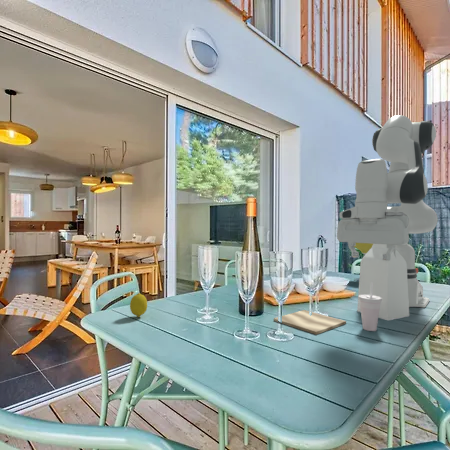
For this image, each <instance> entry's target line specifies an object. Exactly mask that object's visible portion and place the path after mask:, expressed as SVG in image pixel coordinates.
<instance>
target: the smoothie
mask: <svg viewBox="0 0 450 450" xmlns="http://www.w3.org/2000/svg"><path fill="white" fill-rule="evenodd" d="M358 299H359V300H360V308H361V312H360V314H361V316H360V317H361V324H362V329H363V330H365V331H368V332H377V329H378V323H379V318H378V316H379V310H380V303H381V302H382V298H381V297H379V296H375V295H372V283H370V295H359V298H358V297H357V300H358Z"/></svg>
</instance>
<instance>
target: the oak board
mask: <svg viewBox="0 0 450 450" xmlns="http://www.w3.org/2000/svg"><path fill="white" fill-rule="evenodd" d="M309 311H310V310H305V309H303V310H299V311H295V312H293V313H292V312H291V313H288V314H285V315H281V316H282V323H281V324H283V325H286V326H288V327H292V328H295V329H298V330H301V331H304V332H307V333H309V334H310V333H311V334H312V335H316V336H317V335H320V334H322V333H324V332H328V331H330V330H332V329H336V328H338V327H340V326H343V325H346V324H347V321H346V320H343V319H339V318H335V317H331V316H328V315H324V314H320V313H317V312H315V311H311V312H312V315H311V316H310V315H309ZM278 317H279V316H278ZM278 317H277V316H276V317H273V322H277V323H279V322H278Z"/></svg>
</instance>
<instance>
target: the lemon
mask: <svg viewBox="0 0 450 450" xmlns="http://www.w3.org/2000/svg"><path fill="white" fill-rule="evenodd" d="M147 308H148V299H147V298H146V296H145V295H144V294H141V292H137V294H134V295H133V296H132V297H131V299H130V303H129V309H130V312H131V313H132V314H133V315H134V316H136V317H137V318H140V317H141V316H143V315H144V314H145V313H146V312H147Z"/></svg>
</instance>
